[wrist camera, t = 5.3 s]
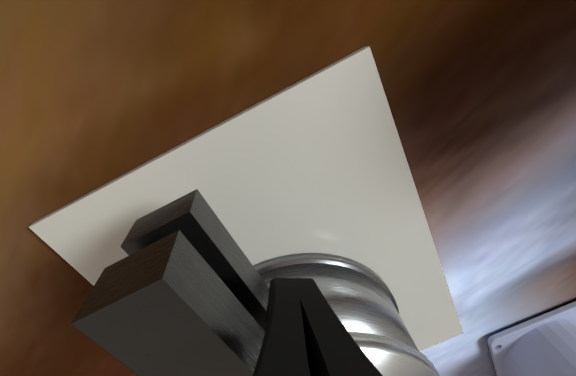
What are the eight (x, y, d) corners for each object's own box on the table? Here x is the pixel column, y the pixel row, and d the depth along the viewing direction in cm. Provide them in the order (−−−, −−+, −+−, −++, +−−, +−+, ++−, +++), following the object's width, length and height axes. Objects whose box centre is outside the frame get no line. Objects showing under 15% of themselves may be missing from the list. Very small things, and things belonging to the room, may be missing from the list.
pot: (427, 370, 23) (468, 447, 19) (276, 431, 24) (282, 516, 20) (306, 107, 13) (333, 142, 9) (68, 230, 15) (-6, 312, 10)
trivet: (458, 326, 22) (463, 333, 21) (245, 415, 24) (245, 422, 23) (365, 46, 13) (369, 46, 13) (35, 221, 15) (28, 227, 14)
